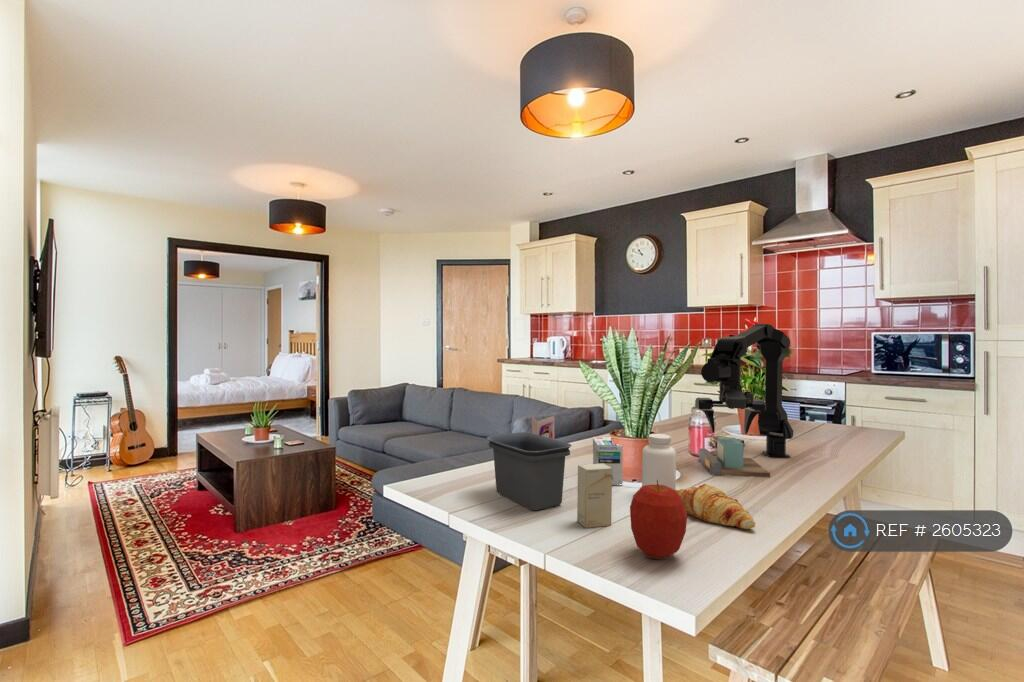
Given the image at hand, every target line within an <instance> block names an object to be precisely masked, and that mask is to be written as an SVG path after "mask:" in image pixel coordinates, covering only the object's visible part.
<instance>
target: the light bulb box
mask: <svg viewBox="0 0 1024 682" xmlns="http://www.w3.org/2000/svg"><path fill="white" fill-rule="evenodd" d="M611 438H612V437H609V436H608V437H603V436H602V437H600V436H592V464H600V463H604V464H606V465H607V466H609V467H611V468H612V486H618V485H617V484H622V483H623V484H624V481H623V478H624V477H623V473H624V472H623V469H624V468H623V464H624V463H623V462H624V461H623V460H624V459H623V456H624V455H623V453H624V452H623V451H624V449H623V447H624V446H623V444H622V445H619V444H614V443H613V444H612V441H611Z"/></svg>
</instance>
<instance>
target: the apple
mask: <svg viewBox="0 0 1024 682" xmlns="http://www.w3.org/2000/svg"><path fill="white" fill-rule="evenodd" d="M675 490H676V489H675ZM675 490H674V489H672V488H669V487H667V486H664V485H658V480H657V485H645V486H642V485H641V487H640V488H639V489H638V490H637V491H636V492H635V493H634V494H633V496H632V499H631V503H630V505H629V514H630V528H631V533H632V535H633V537H634V540H635V543H636V547H637V548H638V549H639V550H640V551H641V552H642V553H643V554H644V555H645V556H646V557H647V558H650V559H653V560H663V559H667V558H669V557H671V556H672V555H674V554H675V553H677V552H678V551H679V550H680V548H681V546H682V543H683V540H684V537H685V534H686V533H687V523H688V522H687V521H688V513H687V512H686V509H685V506H684V503H683V501H682V498H681V497H680V496H679V494H678V493H677V492H676V491H675Z"/></svg>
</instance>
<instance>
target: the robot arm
mask: <svg viewBox="0 0 1024 682" xmlns="http://www.w3.org/2000/svg"><path fill="white" fill-rule="evenodd" d="M755 344H756V345H758V346H759V349H760V354H761V355H762V357H763V359H764V361H765V381H764V384H765V387H764V390H765V391H764V400H762V399H760V398H754V393H753V391H743V390H742V389H743V387H742V382H741V381H742V379H741V377H742V375H741V374H742V373H741V372H742V370H741V369H742V368H741V367H742V366H743V365H745V362H744V361H743V360H742V359H741V358H742V357H744V356H745V355H746V354H747V353H748V348H749V347H752V346H753V345H755ZM790 346H791V340H790V338H789V336H787V334H786V333H785V332H784V331H781V330H779V329H778V328H776V327H774V326H773V325H772V324H770V323H756V324H753V326H751V327H750V328H748V329H746V330H744V331H742V332H740V333H738V334H737V335H734V336H726V337H720V338H719V339H718V340H717V341H716V344H715V346H714V348H713V350H712V352H711V355H710V357H709V358H707V363H704V364H703V366H702V368H701V370H700V373H701V374H700V375H701V377H702V379H703V380H704V381H705V382H706V383H718V382H719V383H718V387H719V396H718V400H713V399H712V398H710V397H696V398H695V401H694V407H695V408H697V409H698V410H700V411H701V412H702V413H704V415H705V417H706V418H707V422H708V424H709V428H710V430H711V433H713V434H714V433H715V429H716V428H715V420H714V419H715V418H714V414H715V413H714V412H715V411H714V409H713V408H717V407H718V408H728V409H730V410H734V409H740V410H744V420H743V421H744V422H743V423H744V424H743V429H744V430H743V432H744V434H746V435H747V434H748V432H749V430H750V428H751V425H752V422H753V420H754V419H755V417H756V416H758V418H757V425H758V431H759V435H760V436H765V439H766V440H765V441H766V442H765V444H766V445H765V448H766V449H765V450H762V451H761V452H762V454H764V455H766V456H768V457H770V458H771V457H772V458H777V457H778V458H791V456H790V454H788V453H786V452H787V440H789V439H790V440H791V439H793V437H794V433H795V431H794V429H793V428H792V426H791V424H790V423H789V419H788V413H787V412H786V409H784V407H783V369H784V367H783V365H784V364H783V363H784V360H785V359H786V357H787V356H788V355H789V353H790V351H789V350H790Z"/></svg>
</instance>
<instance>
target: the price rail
mask: <svg viewBox="0 0 1024 682" xmlns="http://www.w3.org/2000/svg"><path fill="white" fill-rule="evenodd" d="M715 457H716V456H714V455H713V454H712V453H711V452H710V451H709V450H708V449H707V448H703V447H702V448H699V449H698V460H699V461H700V462H701V463H702V464H703V466H704V467H705V468H706V469H707V470H708V471H709V473H711V475H712V474H713V475H718V477H721V476H722V475H721V463H720V462H719V461H718V460H717V459H716V458H715ZM713 475H712V476H713Z"/></svg>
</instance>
